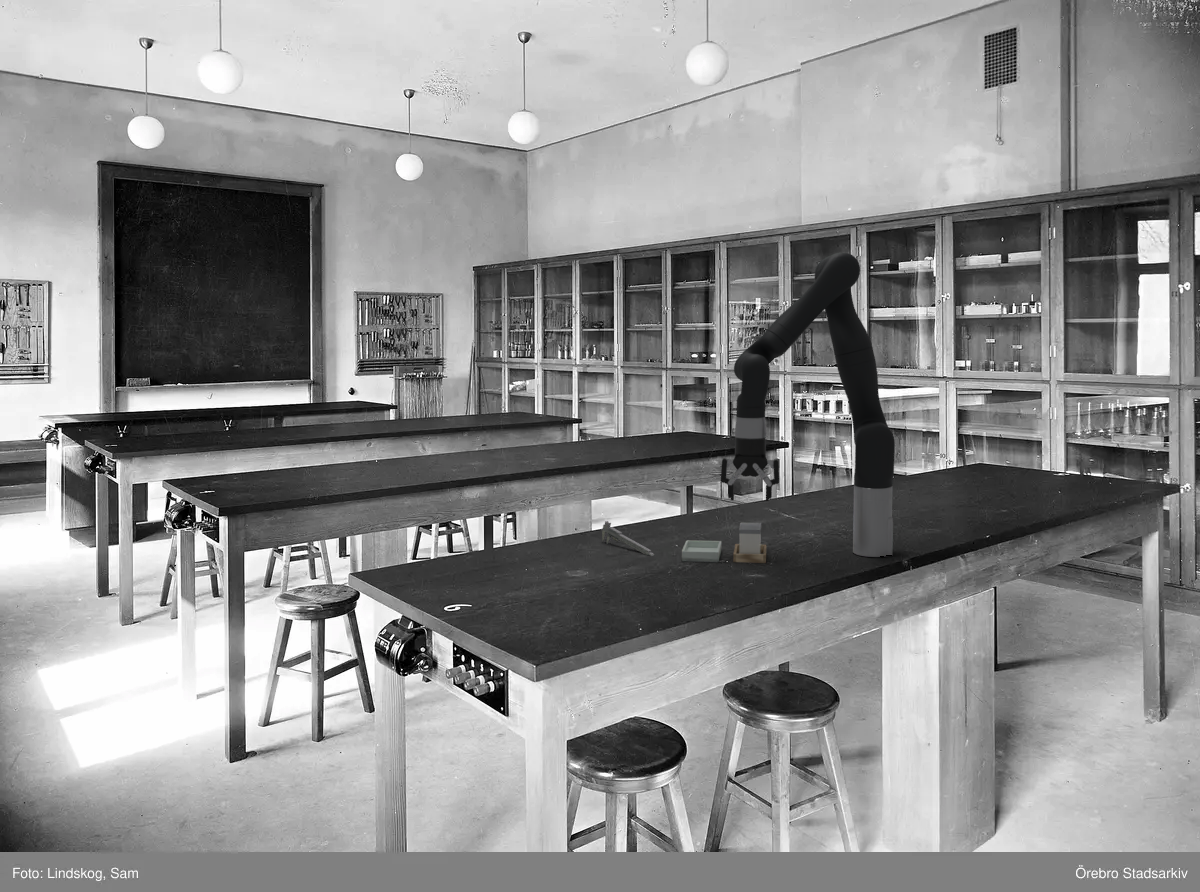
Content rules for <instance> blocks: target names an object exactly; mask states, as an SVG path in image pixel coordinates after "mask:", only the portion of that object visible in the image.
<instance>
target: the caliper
mask: <svg viewBox="0 0 1200 892" xmlns="http://www.w3.org/2000/svg"><path fill="white" fill-rule="evenodd" d="M611 524H612V522H609V521H608V520H607V521H604V524H603V525H602V531H601V533H602V535H601V538H602V539H601V540H602V541H601V542H602V543H605V544H607V545H609V544H611V543H612V540H613V541H615V542H617V543H623V544H625V545H627V546H628V547H631V548H632V549H634V550H636V551H638V552H639V553H642V554H643V555H647V556H649V557H653V556H655V553H653V552H652V549H649V548H648V547H646V546H645V545H642V544H641V543H639V542H636V541H635V540H634V539H631V538H629V537H628V536H626V535H624V534H623V532H622V531H620V530H618V529H616V528H615V527H613V526H611Z"/></svg>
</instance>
